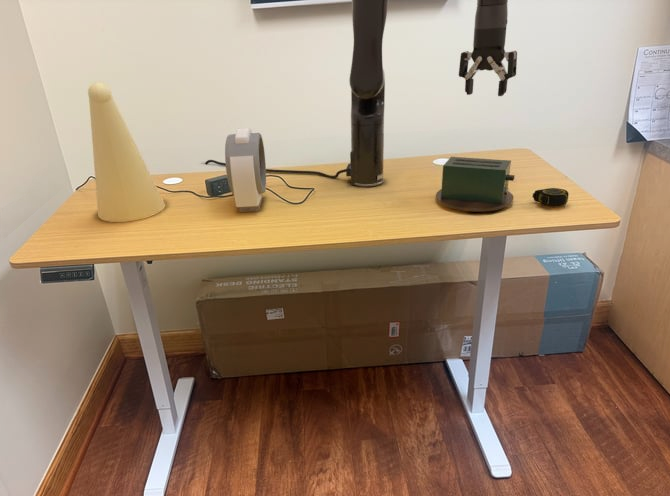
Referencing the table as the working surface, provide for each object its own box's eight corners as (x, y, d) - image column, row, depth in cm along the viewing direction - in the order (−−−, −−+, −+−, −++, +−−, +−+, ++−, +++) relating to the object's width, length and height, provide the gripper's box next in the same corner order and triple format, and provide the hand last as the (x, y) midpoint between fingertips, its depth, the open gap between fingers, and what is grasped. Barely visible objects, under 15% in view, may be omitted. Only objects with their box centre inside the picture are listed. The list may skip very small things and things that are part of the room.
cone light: (100, 203, 154) (67, 75, 137) (164, 195, 158) (139, 68, 140) (92, 235, 133) (51, 88, 116) (166, 224, 137) (136, 79, 119)
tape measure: (555, 199, 135) (558, 185, 133) (572, 208, 129) (575, 193, 127) (531, 202, 134) (533, 188, 133) (546, 211, 128) (549, 196, 127)
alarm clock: (263, 215, 138) (255, 137, 128) (231, 217, 138) (220, 139, 128) (269, 193, 153) (262, 121, 143) (240, 194, 154) (231, 123, 144)
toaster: (427, 206, 134) (429, 170, 129) (445, 183, 148) (447, 150, 144) (506, 215, 126) (512, 177, 121) (518, 189, 140) (523, 155, 136)
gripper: (456, 28, 132) (453, 96, 140) (512, 26, 123) (505, 98, 131) (470, 25, 137) (466, 91, 145) (525, 23, 128) (517, 93, 136)
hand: (485, 95), depth 138 cm, fingers open, 8 cm apart
